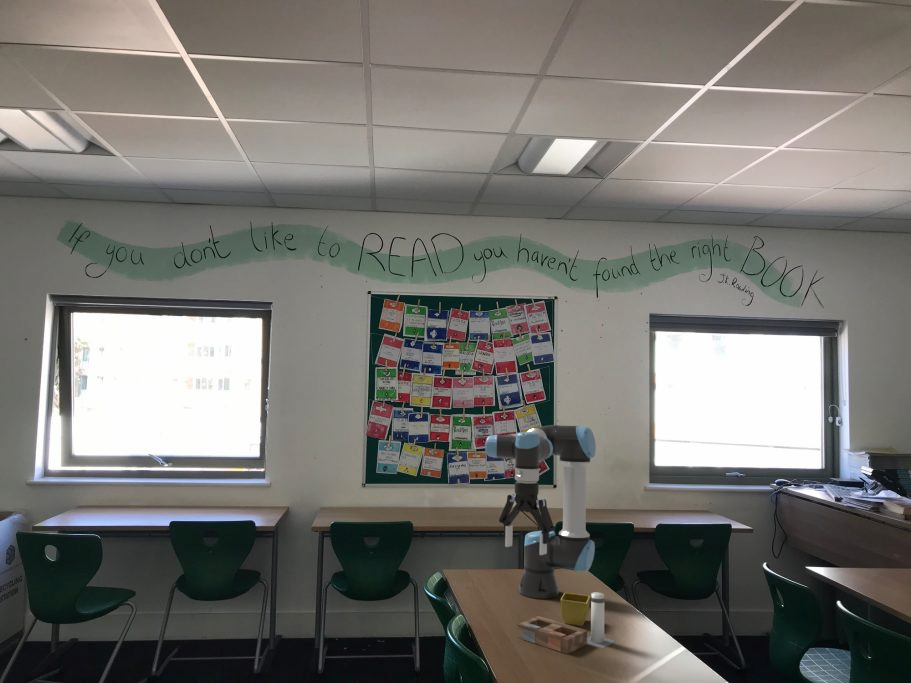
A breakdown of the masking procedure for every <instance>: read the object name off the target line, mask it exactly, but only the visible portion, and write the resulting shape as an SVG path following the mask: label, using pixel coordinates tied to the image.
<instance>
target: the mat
mask: <svg viewBox="0 0 911 683" xmlns="http://www.w3.org/2000/svg"><path fill="white" fill-rule="evenodd" d="M615 642H616V640H613V639H609V638H606V637H604V643H601V644H598V643H593V642H592V641H591V634H590V635H589V636H588V635H587V645H591V646H594V647H598V648H600V649H604V648H606V647H608V646H610V645H611V644H613V643H615Z"/></svg>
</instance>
